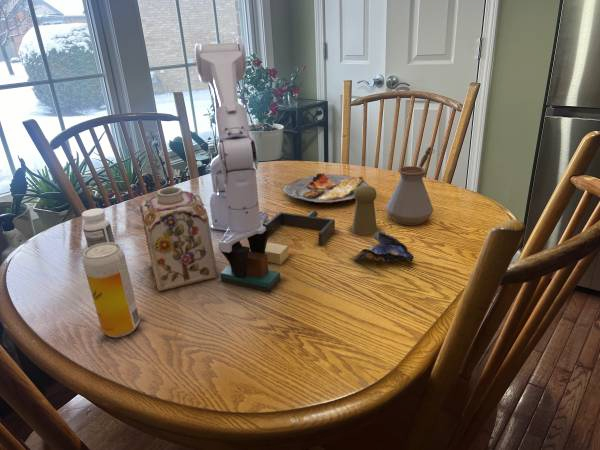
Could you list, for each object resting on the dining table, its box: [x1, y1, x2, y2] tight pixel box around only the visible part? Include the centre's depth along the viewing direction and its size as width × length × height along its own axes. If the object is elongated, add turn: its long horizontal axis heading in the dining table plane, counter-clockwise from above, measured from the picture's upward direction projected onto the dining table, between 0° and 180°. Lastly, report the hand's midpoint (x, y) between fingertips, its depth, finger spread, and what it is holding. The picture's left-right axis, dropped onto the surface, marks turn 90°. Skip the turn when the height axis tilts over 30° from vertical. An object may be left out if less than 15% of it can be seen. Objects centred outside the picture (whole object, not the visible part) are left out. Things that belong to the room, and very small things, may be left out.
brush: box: [219, 250, 282, 293], centre depth 85 cm, size 11×4×6 cm, turn 65°
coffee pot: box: [385, 146, 436, 226], centre depth 111 cm, size 21×12×15 cm, turn 149°
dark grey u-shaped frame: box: [265, 210, 336, 246], centre depth 107 cm, size 15×13×3 cm
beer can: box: [81, 242, 140, 338], centre depth 71 cm, size 6×6×15 cm
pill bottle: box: [81, 207, 116, 248], centre depth 99 cm, size 6×6×10 cm
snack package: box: [352, 230, 415, 262], centre depth 91 cm, size 12×6×12 cm
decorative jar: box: [139, 186, 218, 292], centre depth 87 cm, size 12×12×18 cm
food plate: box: [282, 172, 370, 204], centre depth 129 cm, size 25×23×4 cm
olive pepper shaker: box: [351, 185, 378, 237], centre depth 103 cm, size 6×6×11 cm
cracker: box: [265, 241, 290, 265], centre depth 94 cm, size 5×4×2 cm
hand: (249, 268), depth 85 cm, fingers open, 6 cm apart
